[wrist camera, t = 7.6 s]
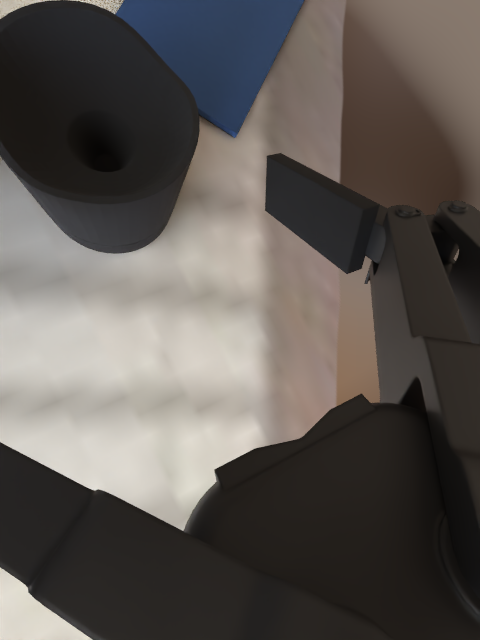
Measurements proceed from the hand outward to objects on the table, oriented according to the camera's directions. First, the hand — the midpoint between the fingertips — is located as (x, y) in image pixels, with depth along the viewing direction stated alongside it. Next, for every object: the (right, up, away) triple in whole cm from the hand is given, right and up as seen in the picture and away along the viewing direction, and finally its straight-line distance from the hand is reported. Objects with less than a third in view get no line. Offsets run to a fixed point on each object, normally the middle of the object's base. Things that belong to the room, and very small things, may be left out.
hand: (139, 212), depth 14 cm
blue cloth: (+3, +22, +14) cm, 26 cm away
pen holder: (-5, +4, +10) cm, 12 cm away
